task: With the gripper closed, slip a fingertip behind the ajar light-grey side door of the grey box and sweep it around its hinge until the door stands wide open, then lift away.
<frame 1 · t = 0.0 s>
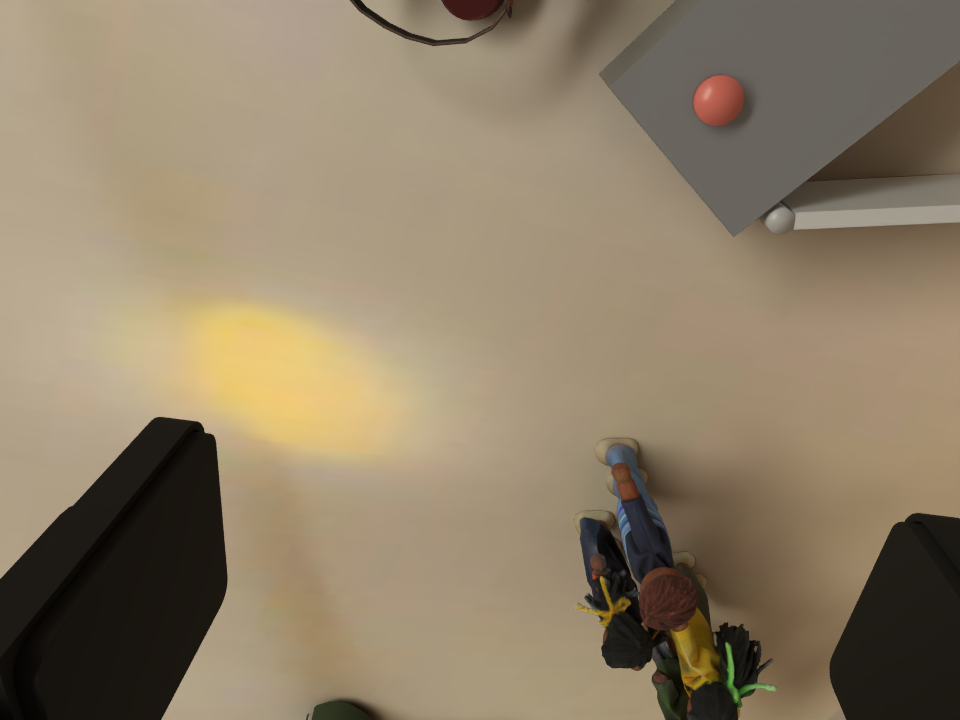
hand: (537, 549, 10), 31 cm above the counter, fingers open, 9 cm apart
doll family: (645, 540, 50), on the counter
side door: (883, 207, 35), point 3 cm above the counter, hinge at 40.0°
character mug: (345, 718, 60), on the counter
grey box: (770, 39, 35), on the counter
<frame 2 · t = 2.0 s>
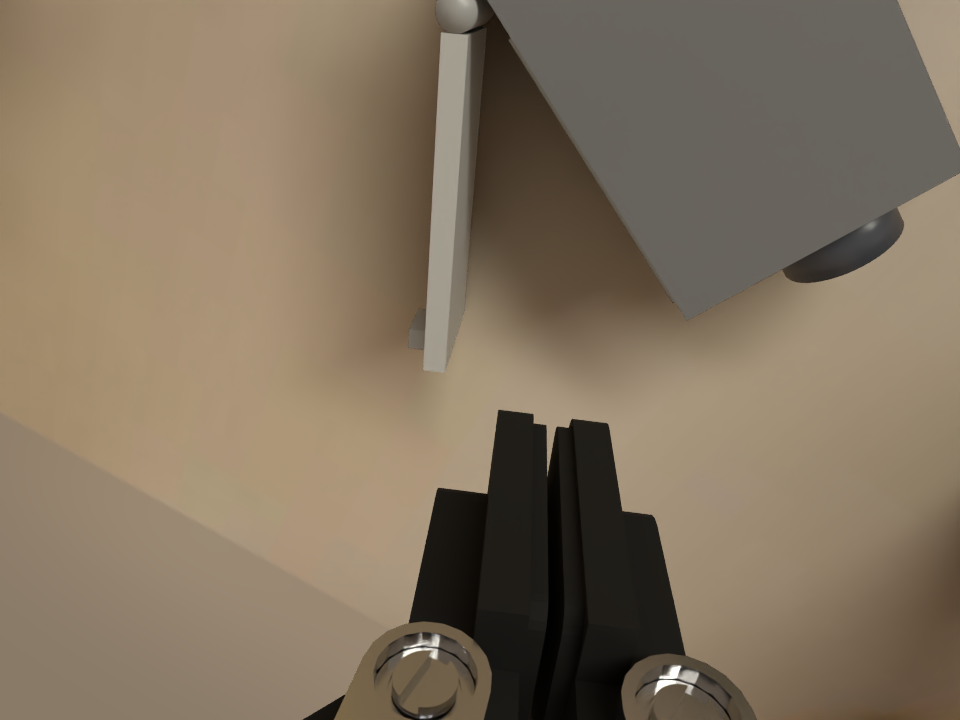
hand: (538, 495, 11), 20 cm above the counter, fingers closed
side door: (446, 183, 26), point 3 cm above the counter, hinge at 40.0°
grey box: (682, 38, 25), on the counter
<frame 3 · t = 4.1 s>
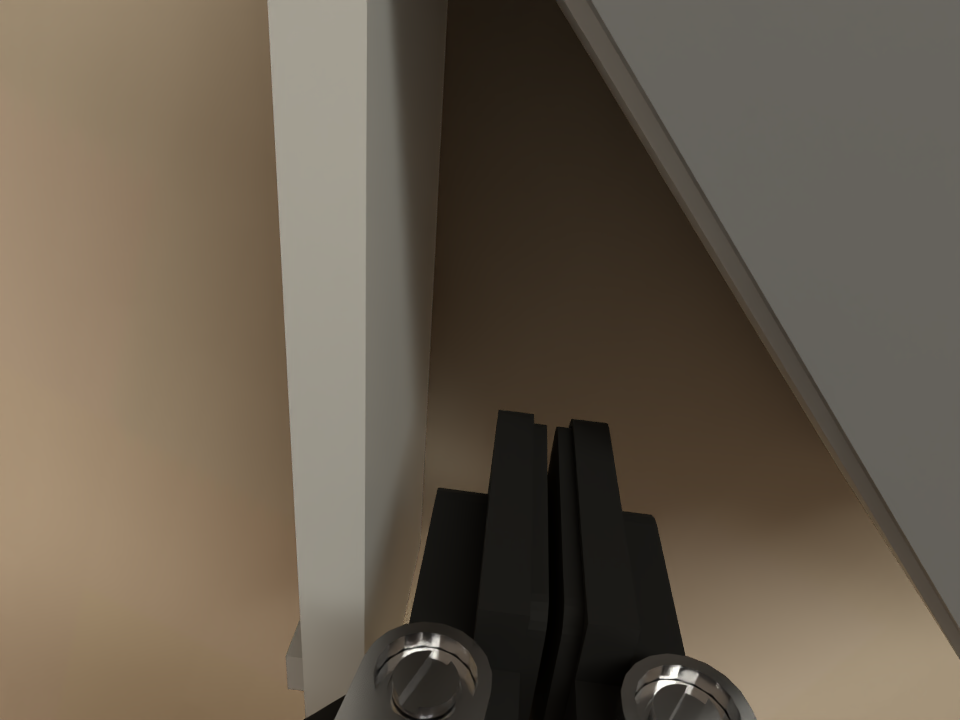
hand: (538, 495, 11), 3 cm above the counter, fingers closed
side door: (355, 338, 10), point 3 cm above the counter, hinge at 40.3°, touching gripper
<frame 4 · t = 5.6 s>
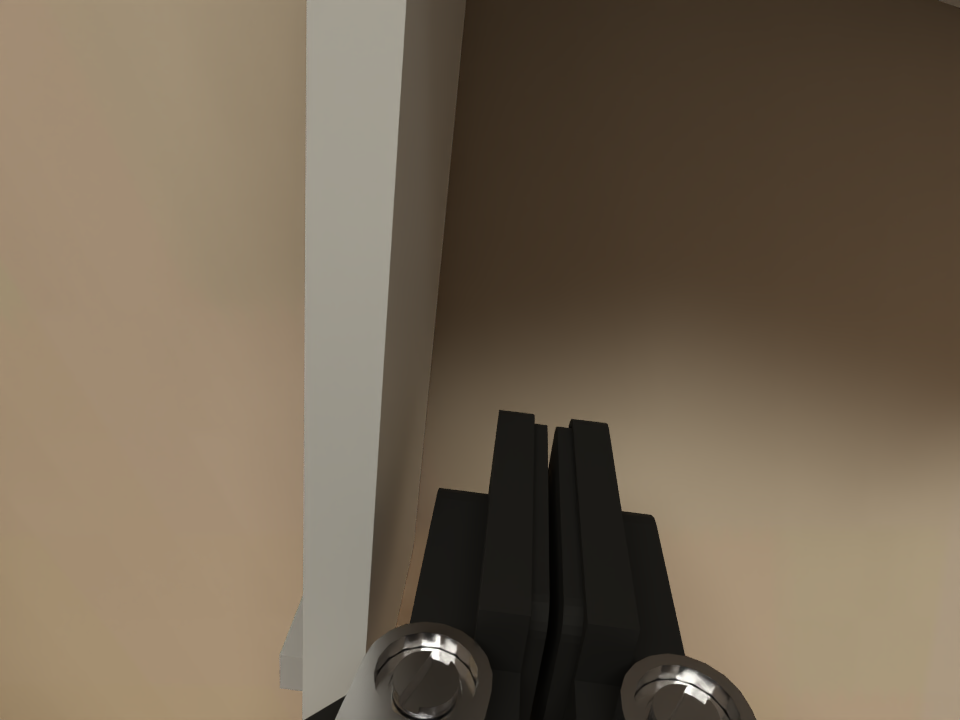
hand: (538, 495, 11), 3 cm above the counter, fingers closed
side door: (364, 338, 10), point 3 cm above the counter, hinge at 79.8°, touching gripper
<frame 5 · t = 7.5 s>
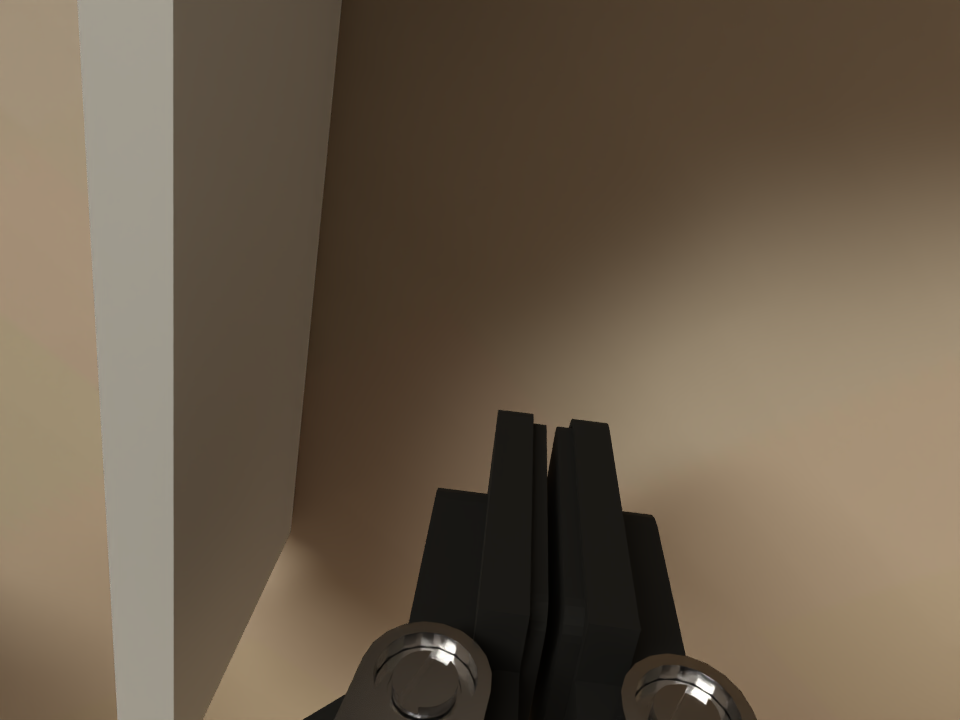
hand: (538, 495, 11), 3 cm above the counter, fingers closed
side door: (210, 325, 10), point 3 cm above the counter, hinge at 110.6°
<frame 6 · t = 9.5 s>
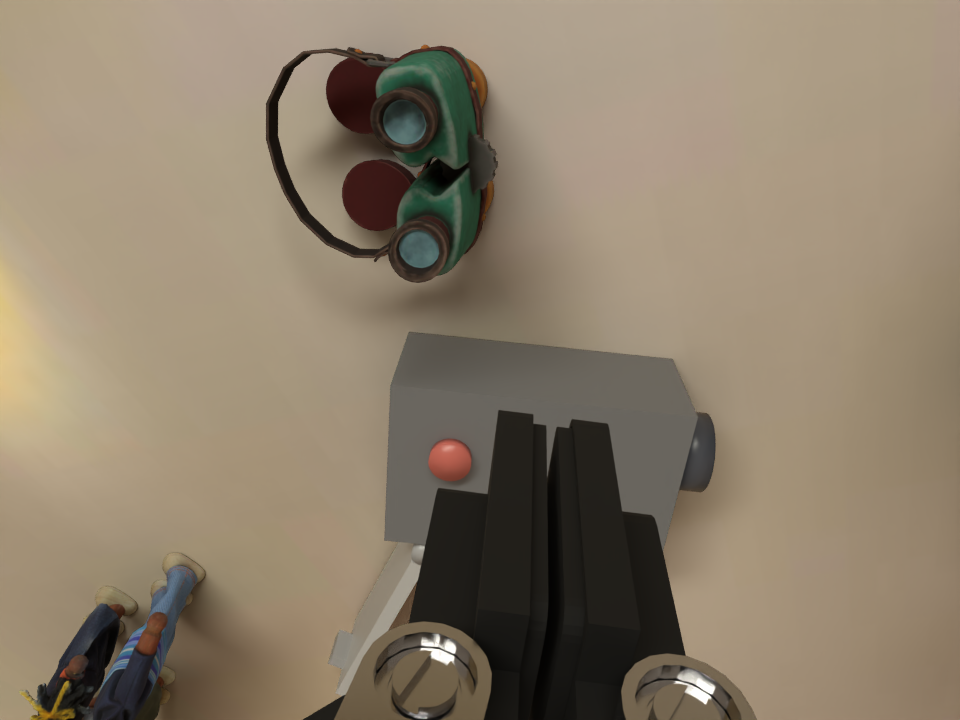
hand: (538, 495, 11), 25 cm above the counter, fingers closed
doll family: (148, 640, 49), on the counter
side door: (384, 588, 42), point 3 cm above the counter, hinge at 110.6°
binoculars: (398, 144, 34), on the counter
grey box: (530, 418, 40), on the counter
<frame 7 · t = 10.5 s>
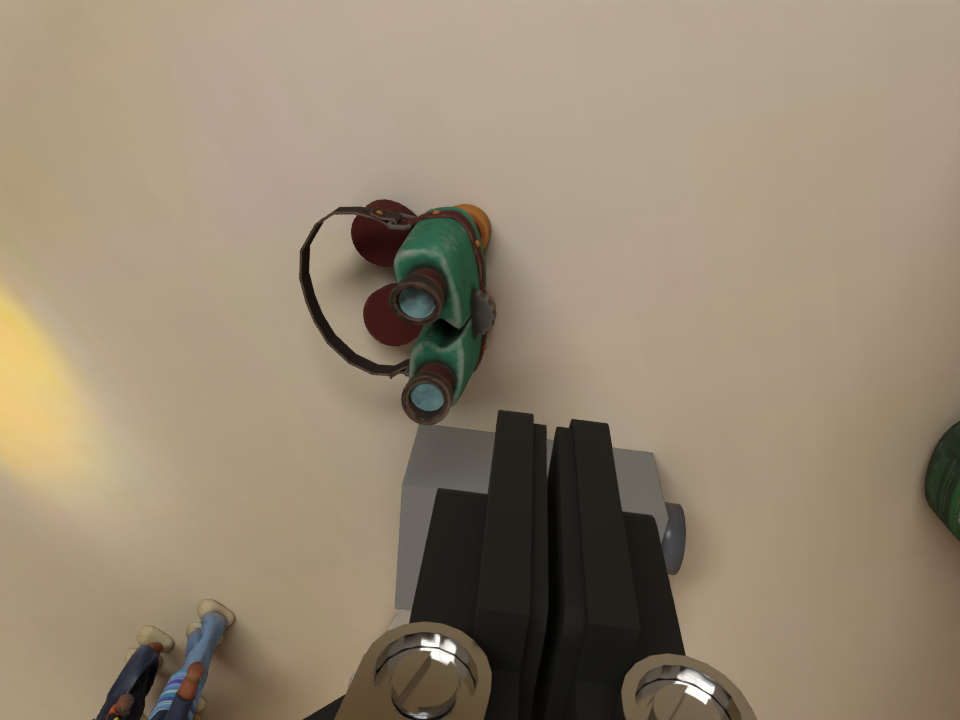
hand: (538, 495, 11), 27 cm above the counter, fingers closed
doll family: (182, 672, 55), on the counter
side door: (393, 641, 47), point 3 cm above the counter, hinge at 110.6°
binoculars: (412, 270, 39), on the counter
grey box: (525, 498, 45), on the counter
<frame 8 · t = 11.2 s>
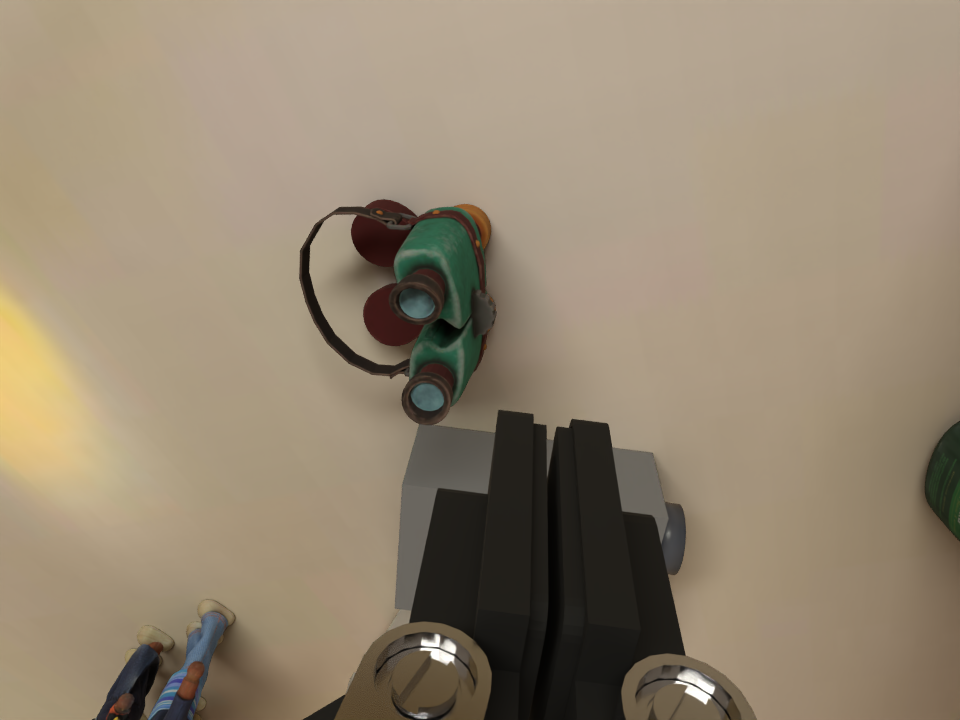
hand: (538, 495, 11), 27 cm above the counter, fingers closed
doll family: (182, 672, 55), on the counter
side door: (393, 641, 47), point 3 cm above the counter, hinge at 110.6°
binoculars: (412, 270, 39), on the counter
grey box: (525, 498, 45), on the counter
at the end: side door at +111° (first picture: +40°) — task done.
